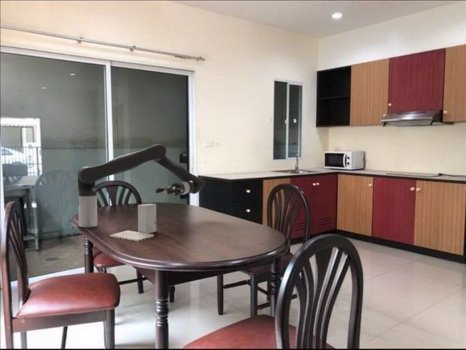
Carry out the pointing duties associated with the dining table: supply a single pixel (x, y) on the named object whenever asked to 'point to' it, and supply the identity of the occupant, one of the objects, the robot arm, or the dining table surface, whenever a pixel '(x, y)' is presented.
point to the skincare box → (147, 218)
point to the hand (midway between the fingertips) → (161, 191)
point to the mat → (132, 235)
